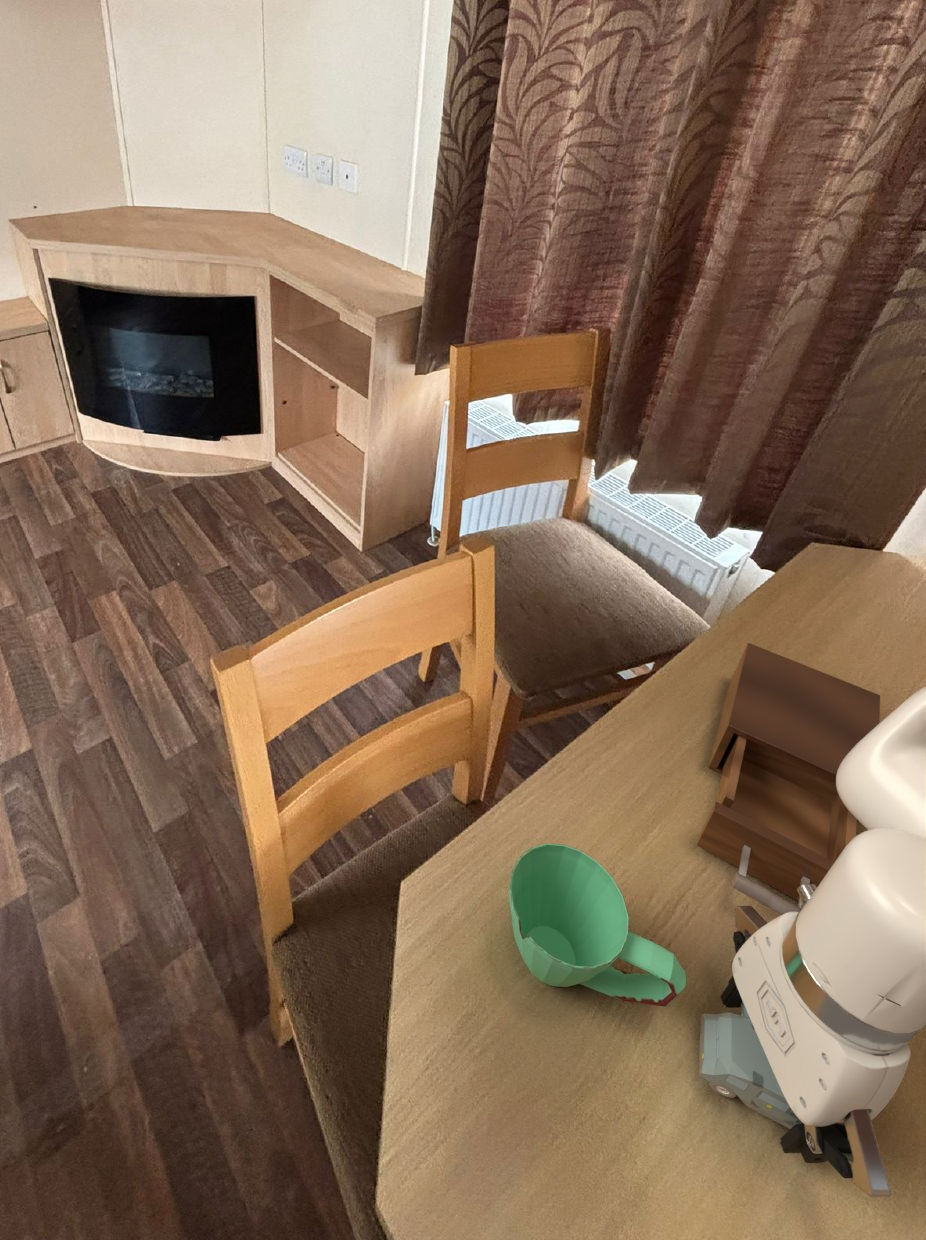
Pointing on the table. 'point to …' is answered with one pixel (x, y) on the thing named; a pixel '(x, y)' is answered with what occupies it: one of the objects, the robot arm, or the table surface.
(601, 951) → the mug
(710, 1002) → the table surface
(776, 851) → the drawer
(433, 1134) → the table surface
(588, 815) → the table surface
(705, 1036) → the toy car
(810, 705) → the cabinet
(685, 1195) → the table surface
